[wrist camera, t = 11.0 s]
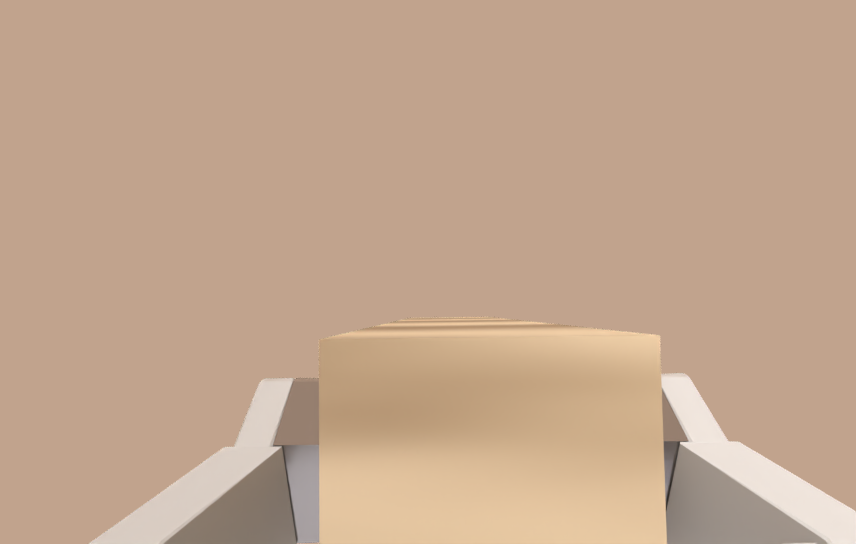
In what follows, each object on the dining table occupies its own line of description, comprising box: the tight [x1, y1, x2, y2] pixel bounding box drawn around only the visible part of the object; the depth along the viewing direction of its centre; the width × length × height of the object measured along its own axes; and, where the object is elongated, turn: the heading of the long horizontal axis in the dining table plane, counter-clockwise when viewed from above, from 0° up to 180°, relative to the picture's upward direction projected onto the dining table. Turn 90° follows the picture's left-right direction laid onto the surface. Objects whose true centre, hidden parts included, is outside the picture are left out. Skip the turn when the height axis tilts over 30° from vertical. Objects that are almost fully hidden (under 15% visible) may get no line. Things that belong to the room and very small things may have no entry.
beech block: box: [319, 317, 667, 544], centre depth 18 cm, size 22×4×4 cm, turn 179°
